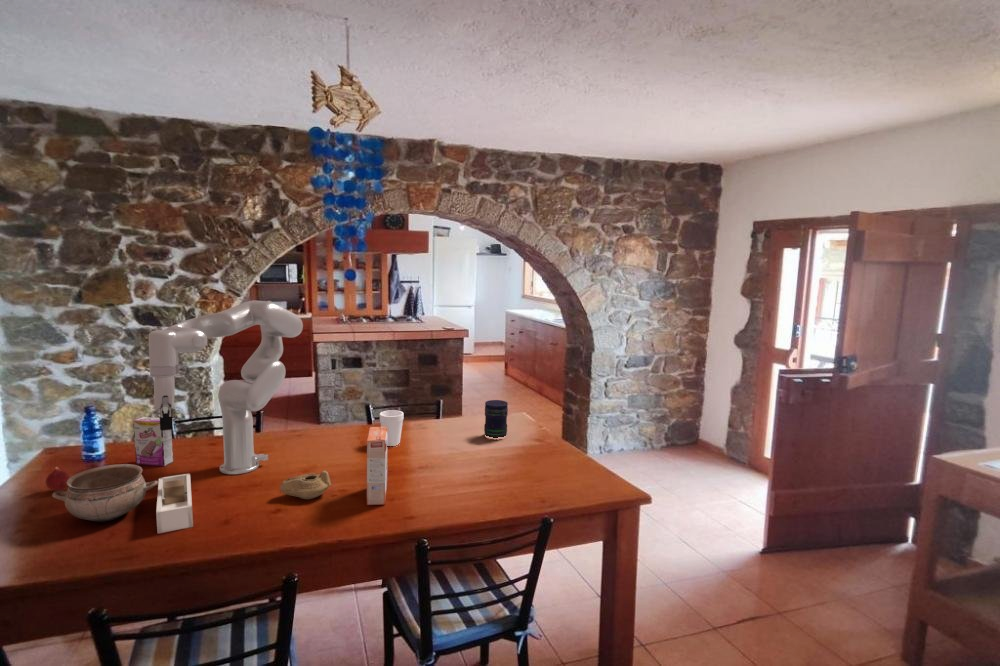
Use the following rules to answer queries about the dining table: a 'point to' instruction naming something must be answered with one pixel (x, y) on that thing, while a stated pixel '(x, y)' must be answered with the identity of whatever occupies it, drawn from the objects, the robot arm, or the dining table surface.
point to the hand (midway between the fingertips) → (166, 425)
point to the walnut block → (174, 491)
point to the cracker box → (377, 466)
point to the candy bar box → (152, 442)
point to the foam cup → (392, 425)
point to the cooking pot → (105, 492)
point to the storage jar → (496, 418)
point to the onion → (57, 479)
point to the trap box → (174, 507)
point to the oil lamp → (306, 485)
